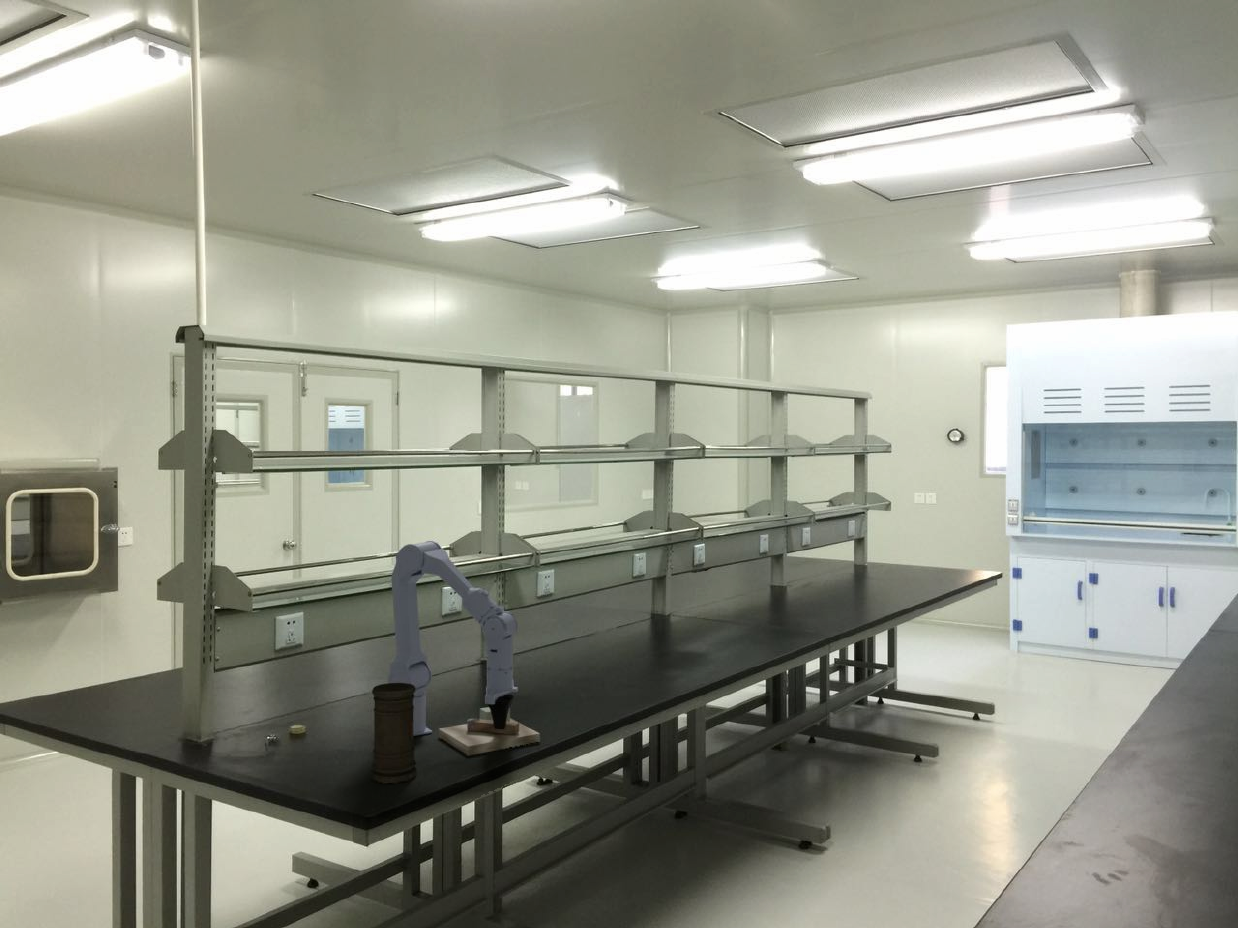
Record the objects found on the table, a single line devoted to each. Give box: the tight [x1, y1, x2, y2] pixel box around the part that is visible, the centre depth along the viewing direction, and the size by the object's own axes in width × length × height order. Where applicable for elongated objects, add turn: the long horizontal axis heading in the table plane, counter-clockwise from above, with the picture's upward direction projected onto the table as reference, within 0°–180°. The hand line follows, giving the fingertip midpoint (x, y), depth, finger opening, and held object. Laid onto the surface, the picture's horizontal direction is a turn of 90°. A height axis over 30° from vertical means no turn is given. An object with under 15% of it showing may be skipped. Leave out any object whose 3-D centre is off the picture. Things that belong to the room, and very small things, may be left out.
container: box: [370, 682, 417, 784], centre depth 199 cm, size 9×9×18 cm
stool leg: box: [466, 718, 520, 735], centre depth 223 cm, size 12×3×2 cm, turn 74°
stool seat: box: [438, 717, 541, 756], centre depth 224 cm, size 18×16×2 cm
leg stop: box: [479, 706, 511, 722], centre depth 231 cm, size 6×4×3 cm, turn 124°
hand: (499, 728), depth 221 cm, fingers closed, pressing on stool leg
